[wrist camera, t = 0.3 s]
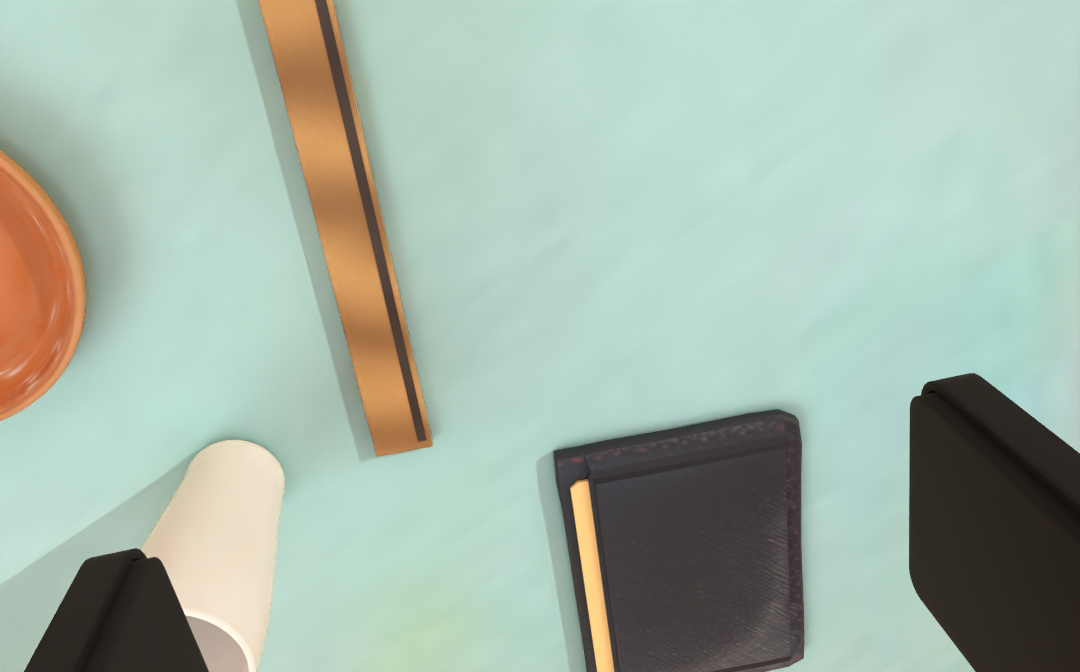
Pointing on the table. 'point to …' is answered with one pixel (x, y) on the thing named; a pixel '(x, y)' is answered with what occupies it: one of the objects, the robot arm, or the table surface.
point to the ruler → (348, 217)
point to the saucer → (35, 290)
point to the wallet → (688, 546)
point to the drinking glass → (224, 550)
